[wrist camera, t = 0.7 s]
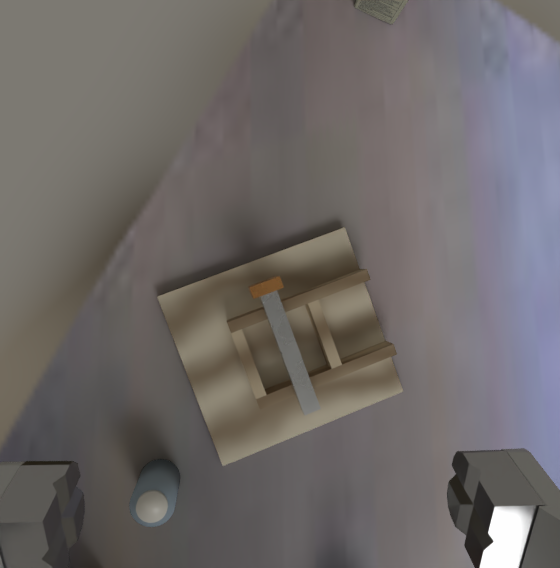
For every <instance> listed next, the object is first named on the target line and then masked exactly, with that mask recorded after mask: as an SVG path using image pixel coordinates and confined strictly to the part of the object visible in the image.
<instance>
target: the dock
mask: <svg viewBox="0 0 560 568" xmlns="http://www.w3.org/2000/svg"><path fill="white" fill-rule="evenodd" d="M275 276H280V278H281V281H282V284H283V286H284V288H281V289H279V290H277V292H278V294H279V297H280V300H281V302H282V305H283V308H284V311H285V313H286V316H287V319H288V321H289V324H290V327H291V329H292V332H293V335H294V338H295V340H296V343H297V346H298V348H299V351H300V354H301V356H302V359H303V362H304V365H305V367H306V370H307V373H308V375H309V378H310V381H311V383H312V386H313V389H314V392H315V394H316V397H317V400H318V402H319V405H320V408H321V409H319V410H317V411H315V412H312V413H310V414H307V415H304V414H303V412H302V410H301V408H300V405H299V403H298V400H297V397H296V395H295V392H294V389H293V387H292V384H291V381H290V379H289V376H288V373H287V371H286V368H285V365H284V363H283V360H282V357H281V355H280V352H279V349H278V346H277V344H276V341H275V338H274V336H273V333H272V330H271V328H270V325H269V322H268V320H267V317H266V314H265V312H264V309H263V306H262V304H261V301H260V298H259V297H258V298H255V299H253V298H252V297H251V294H250V291H249V289H248V286H251V285H253V284H256V283H259V282H261V281H264V280H267V279H269V278H272V277H275ZM368 280H370V277H369V274H368V271H367V269H359V266H358V263H357V260H356V258H355V255H354V252H353V249H352V246H351V244H350V241H349V238H348V235H347V232H346V230H345V227H344V228H341V229H339V230H336V231H333V232H330V233H328V234H325V235H322V236H320V237H317V238H314V239H311V240H309V241H306V242H303V243H301V244H298V245H295V246H293V247H290V248H287V249H284V250H282V251H279V252H276V253H274V254H271V255H268V256H265V257H263V258H260V259H257V260H255V261H252V262H249V263H247V264H244V265H241V266H238V267H236V268H233V269H230V270H228V271H225V272H222V273H220V274H217V275H214V276H211V277H209V278H206V279H203V280H201V281H198V282H195V283H192V284H190V285H187V286H184V287H182V288H179V289H176V290H174V291H171V292H168V293H165V294H163V295H160V296H157V298H158V300H159V303H160V306H161V308H162V311H163V313H164V316H165V318H166V321H167V324H168V326H169V329H170V331H171V334H172V336H173V339H174V342H175V344H176V347H177V349H178V352H179V355H180V357H181V360H182V362H183V365H184V367H185V370H186V373H187V375H188V378H189V380H190V383H191V385H192V388H193V391H194V393H195V396H196V398H197V401H198V403H199V406H200V409H201V411H202V414H203V416H204V419H205V422H206V424H207V427H208V429H209V432H210V434H211V437H212V440H213V442H214V445H215V447H216V450H217V452H218V455H219V458H220V460H221V463H222V465H223V466H225V465H227V464H229V463H232V462H234V461H237V460H239V459H241V458H244V457H246V456H249V455H251V454H254V453H256V452H258V451H261V450H263V449H266V448H268V447H270V446H273V445H275V444H278V443H280V442H282V441H285V440H287V439H290V438H292V437H295V436H297V435H299V434H302V433H304V432H307V431H309V430H311V429H314V428H316V427H319V426H321V425H323V424H326V423H328V422H331V421H333V420H336V419H338V418H340V417H343V416H345V415H348V414H350V413H352V412H355V411H357V410H360V409H362V408H364V407H367V406H369V405H372V404H374V403H377V402H379V401H381V400H384V399H386V398H389V397H391V396H393V395H396V394H398V393H401V392H403V389H402V387H401V384H400V381H399V378H398V375H397V373H396V370H395V367H394V364H393V361H392V359H391V357H392V356H394V355H396V354H397V353H396V350H395V347H394V344H392V343H390V342H387V341H385V339H384V336H383V333H382V331H381V328H380V325H379V322H378V319H377V316H376V314H375V311H374V308H373V305H372V302H371V300H370V297H369V294H368V291H367V288H366V286H365V283H364V282H366V281H368Z"/></svg>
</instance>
